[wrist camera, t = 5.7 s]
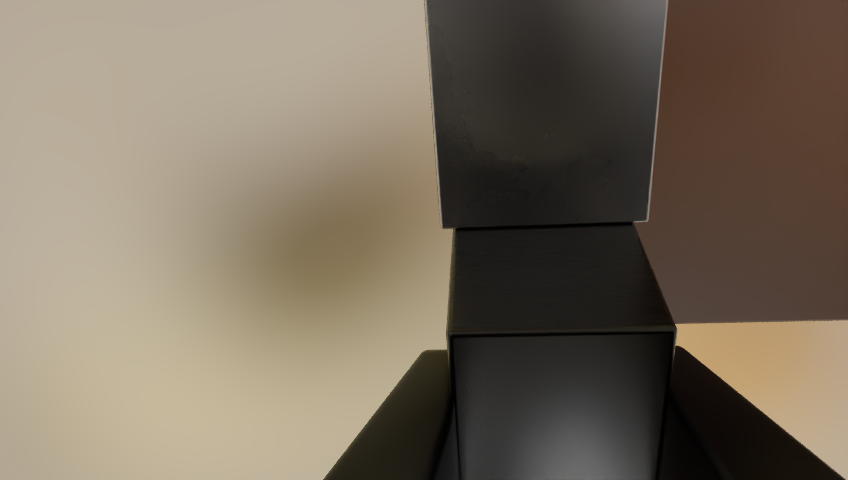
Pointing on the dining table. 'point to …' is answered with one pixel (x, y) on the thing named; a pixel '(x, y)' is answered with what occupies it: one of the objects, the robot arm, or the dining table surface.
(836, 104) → the board
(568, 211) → the knife
